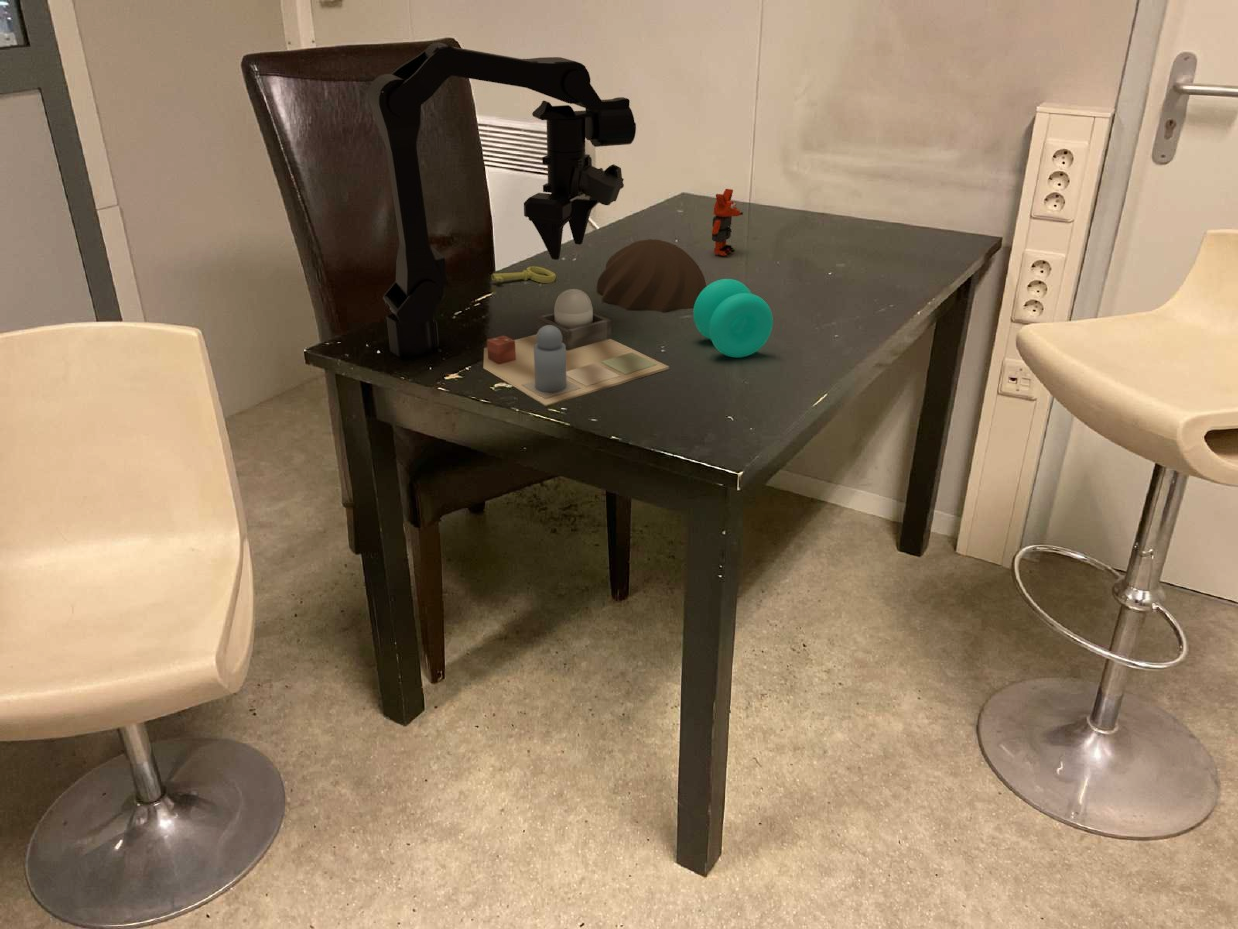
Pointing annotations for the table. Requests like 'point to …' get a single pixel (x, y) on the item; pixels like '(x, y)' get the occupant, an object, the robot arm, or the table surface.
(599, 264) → the table surface
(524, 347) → the game board
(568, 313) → the dome button
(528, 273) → the key
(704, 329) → the teal yo-yo
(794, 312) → the table surface
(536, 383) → the pawn
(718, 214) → the toy animal
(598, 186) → the robot arm
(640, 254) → the decorative dome
